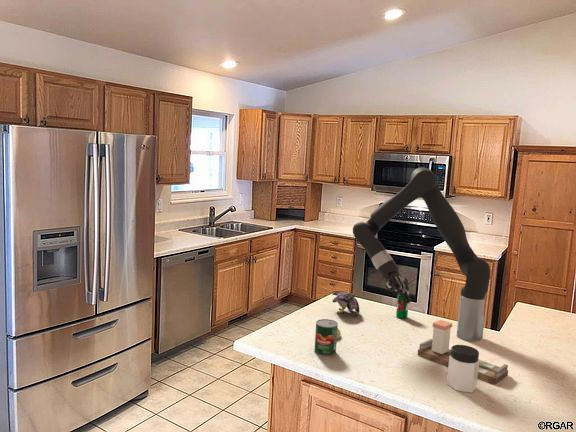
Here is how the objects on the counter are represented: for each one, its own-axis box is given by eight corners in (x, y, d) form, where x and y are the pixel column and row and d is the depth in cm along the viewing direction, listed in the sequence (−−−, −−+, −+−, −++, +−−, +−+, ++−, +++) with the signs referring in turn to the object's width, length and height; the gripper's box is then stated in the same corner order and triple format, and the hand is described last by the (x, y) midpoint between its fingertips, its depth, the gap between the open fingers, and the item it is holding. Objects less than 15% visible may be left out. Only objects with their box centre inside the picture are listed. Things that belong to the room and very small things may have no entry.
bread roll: (318, 339, 174) (319, 329, 173) (321, 331, 182) (321, 322, 182) (339, 342, 172) (340, 332, 172) (341, 333, 181) (341, 324, 180)
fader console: (417, 354, 163) (418, 344, 163) (431, 348, 170) (432, 338, 170) (495, 384, 143) (496, 372, 143) (507, 375, 150) (508, 364, 150)
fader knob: (430, 350, 162) (432, 322, 161) (437, 346, 166) (440, 319, 164) (442, 354, 159) (444, 326, 157) (449, 350, 162) (452, 323, 161)
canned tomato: (316, 356, 157) (318, 326, 156) (312, 347, 165) (313, 319, 164) (338, 356, 159) (340, 326, 157) (333, 347, 166) (334, 318, 165)
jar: (453, 376, 147) (457, 341, 146) (479, 385, 142) (483, 349, 141) (443, 386, 141) (446, 349, 139) (469, 395, 135) (473, 358, 134)
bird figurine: (369, 298, 198) (338, 287, 197) (362, 323, 196) (330, 312, 195) (361, 297, 212) (331, 287, 212) (353, 321, 210) (324, 310, 210)
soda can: (407, 319, 201) (409, 293, 199) (396, 318, 202) (398, 292, 200) (407, 316, 206) (409, 290, 204) (395, 314, 207) (397, 289, 205)
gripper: (381, 261, 171) (406, 300, 164) (400, 257, 180) (425, 294, 173) (368, 271, 175) (392, 310, 168) (388, 267, 184) (411, 304, 177)
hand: (409, 302), depth 170 cm, fingers closed
